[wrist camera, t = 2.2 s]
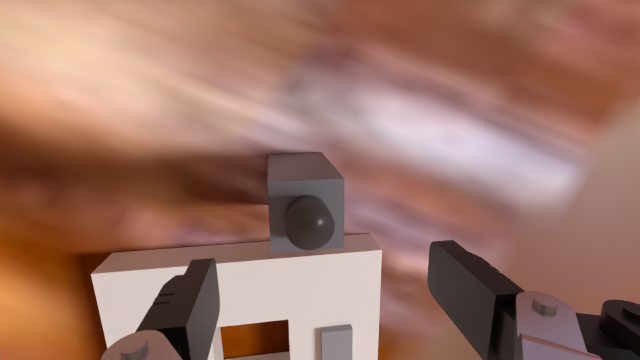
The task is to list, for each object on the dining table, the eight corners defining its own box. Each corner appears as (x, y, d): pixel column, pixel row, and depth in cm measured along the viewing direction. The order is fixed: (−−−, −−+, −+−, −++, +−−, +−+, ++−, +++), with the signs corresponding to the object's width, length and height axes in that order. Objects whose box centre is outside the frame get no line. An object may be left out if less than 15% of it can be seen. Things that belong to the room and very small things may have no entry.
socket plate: (145, 417, 28) (127, 462, 25) (112, 252, 24) (85, 279, 21) (365, 386, 31) (377, 423, 27) (370, 233, 27) (384, 253, 23)
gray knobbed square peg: (271, 205, 25) (271, 268, 16) (268, 154, 24) (266, 190, 15) (322, 201, 25) (350, 261, 16) (321, 152, 24) (351, 186, 15)
